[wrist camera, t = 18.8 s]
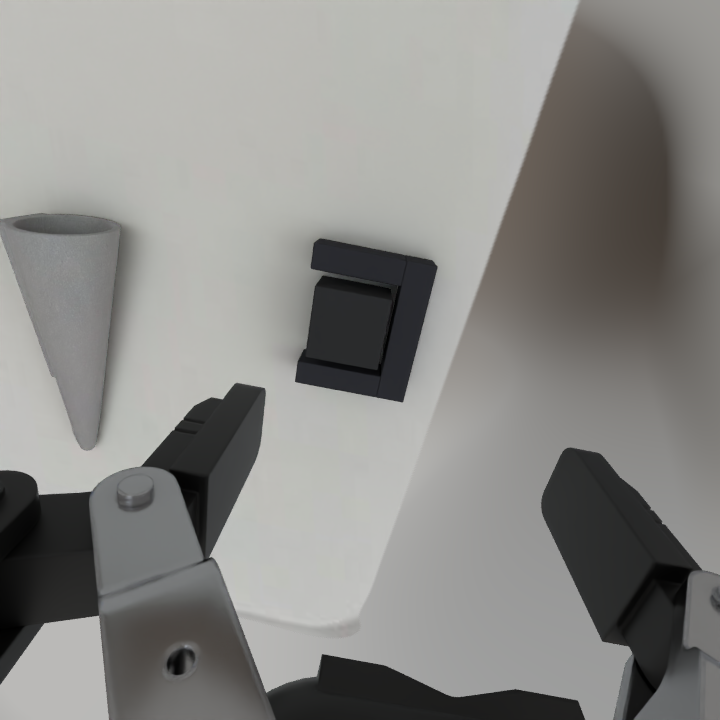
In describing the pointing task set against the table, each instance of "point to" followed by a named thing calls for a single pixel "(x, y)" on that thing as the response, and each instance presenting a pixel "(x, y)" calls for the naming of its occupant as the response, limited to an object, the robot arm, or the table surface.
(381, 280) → the dark u-shaped bracket
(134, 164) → the table surface
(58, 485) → the table surface
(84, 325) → the long tapered cone
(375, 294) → the matte black cube
